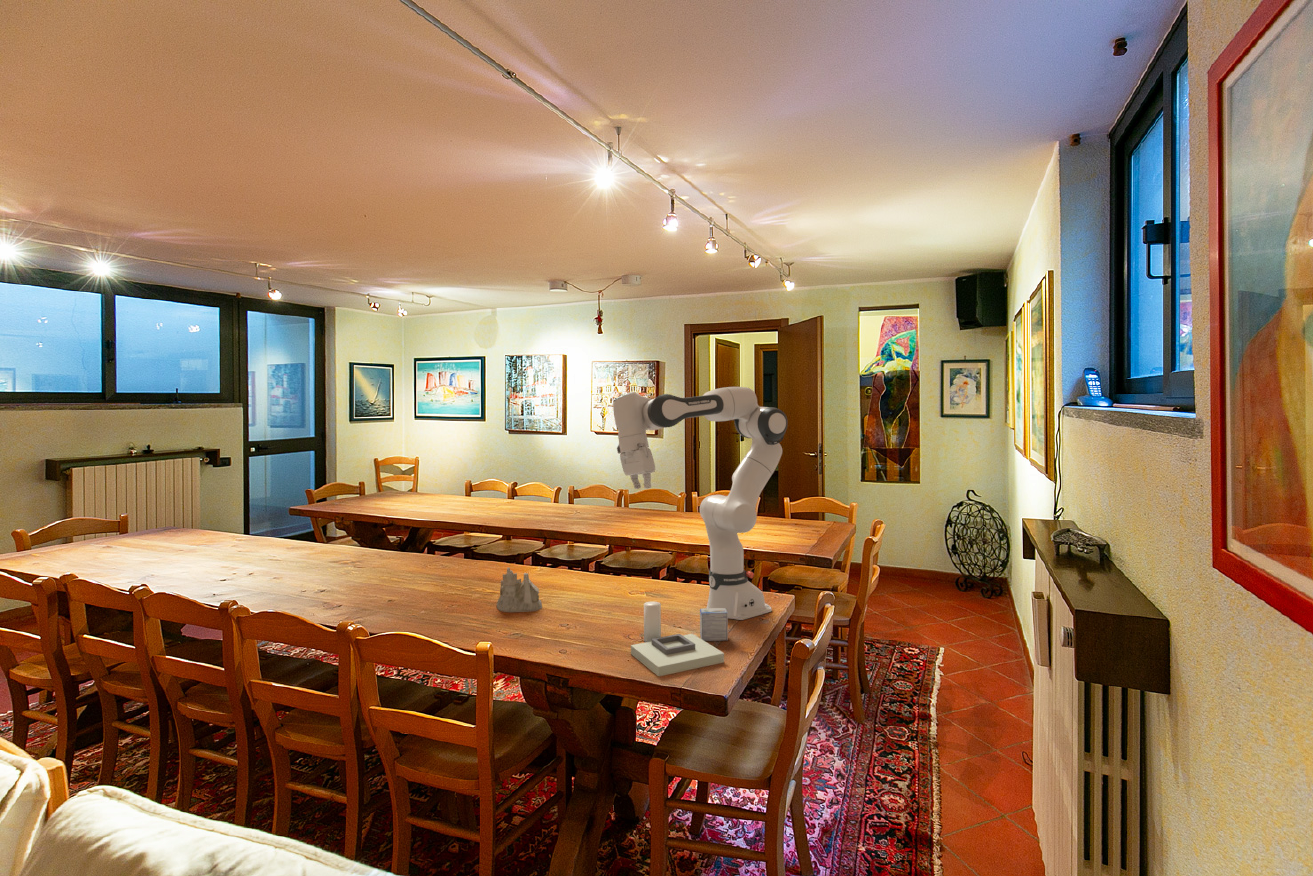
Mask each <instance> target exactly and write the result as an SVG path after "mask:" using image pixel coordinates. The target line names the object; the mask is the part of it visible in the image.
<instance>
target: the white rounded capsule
mask: <svg viewBox="0 0 1313 876" xmlns="http://www.w3.org/2000/svg"><path fill="white" fill-rule="evenodd" d="M661 606H662V605H661V603H660V602H658V601H647V602H644V603H643V641H644V642H643V643H645V642H651V641H652V639H654V638H660V637H662V621H661V619H662V618H661V617H662V615H661V614H662V613H661V612H662V611H661V610H662V609H661V608H662V607H661Z"/></svg>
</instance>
